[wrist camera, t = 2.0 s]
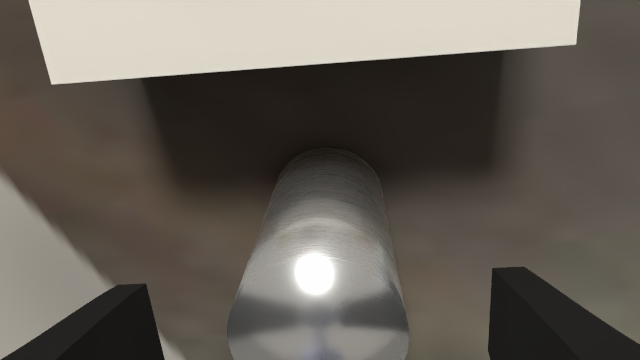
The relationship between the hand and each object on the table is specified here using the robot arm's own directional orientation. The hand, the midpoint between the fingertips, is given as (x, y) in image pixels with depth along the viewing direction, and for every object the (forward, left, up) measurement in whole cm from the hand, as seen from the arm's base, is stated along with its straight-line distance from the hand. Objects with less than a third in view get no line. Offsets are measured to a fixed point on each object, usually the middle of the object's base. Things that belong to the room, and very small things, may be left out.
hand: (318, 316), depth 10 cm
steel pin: (0, 0, -6) cm, 6 cm away
